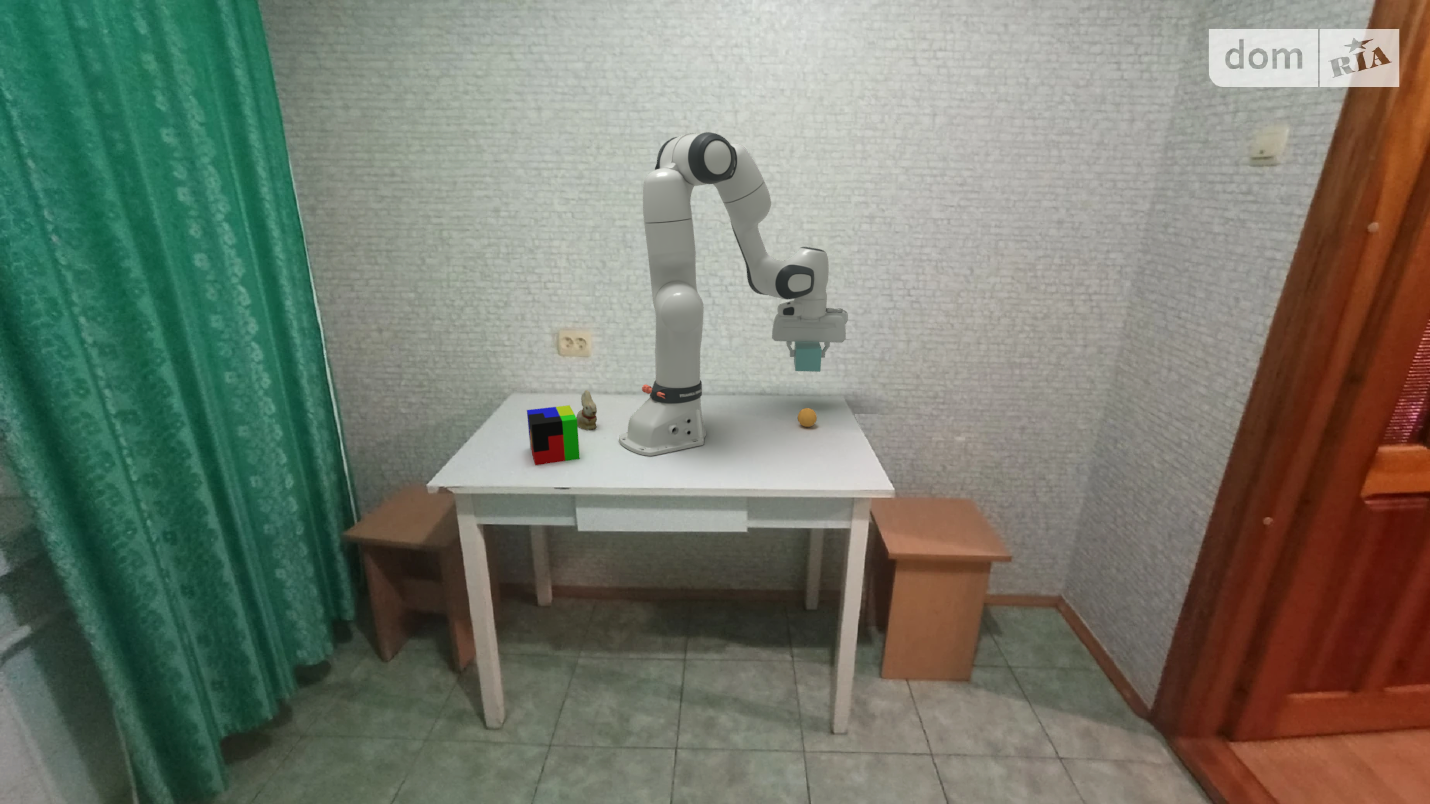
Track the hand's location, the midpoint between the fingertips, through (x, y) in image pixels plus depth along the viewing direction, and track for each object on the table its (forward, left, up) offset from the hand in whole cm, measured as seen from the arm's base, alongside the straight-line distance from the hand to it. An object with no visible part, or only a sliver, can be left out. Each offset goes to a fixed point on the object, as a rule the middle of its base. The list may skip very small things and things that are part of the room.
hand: (807, 356), depth 177 cm
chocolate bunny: (-55, +27, -15) cm, 64 cm away
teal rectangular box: (0, 0, -3) cm, 3 cm away
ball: (-10, -10, -13) cm, 19 cm away
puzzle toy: (-70, +16, -16) cm, 74 cm away
